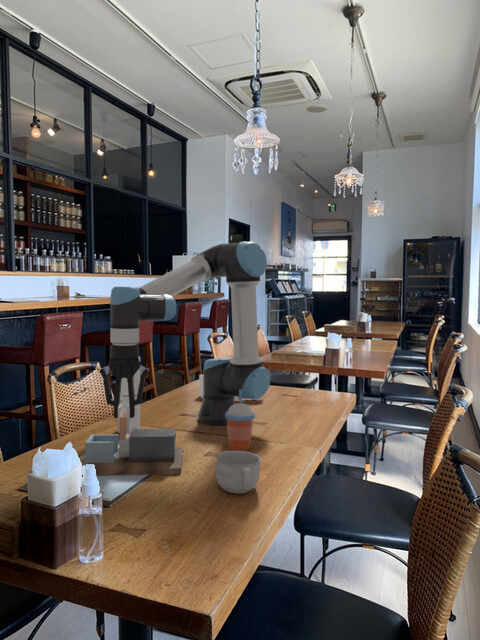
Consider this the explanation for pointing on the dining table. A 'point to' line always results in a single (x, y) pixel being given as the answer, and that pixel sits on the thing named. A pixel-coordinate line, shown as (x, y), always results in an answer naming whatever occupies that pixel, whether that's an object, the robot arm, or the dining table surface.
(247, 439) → the cup with straw
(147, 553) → the dining table surface
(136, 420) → the cylindrical container
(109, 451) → the socket block
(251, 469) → the teacup
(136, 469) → the walnut base board
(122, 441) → the grey block with peg
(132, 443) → the outer sleeve
